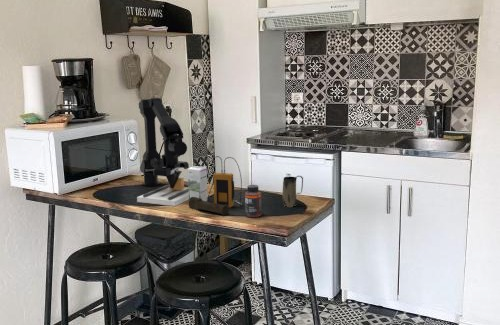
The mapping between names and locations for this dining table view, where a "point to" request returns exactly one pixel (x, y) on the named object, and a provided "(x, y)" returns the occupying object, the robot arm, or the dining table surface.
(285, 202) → the mug
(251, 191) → the supplement bottle
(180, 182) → the lever
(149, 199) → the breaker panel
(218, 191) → the multimeter
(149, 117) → the robot arm
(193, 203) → the hand tool
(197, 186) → the syrup box
